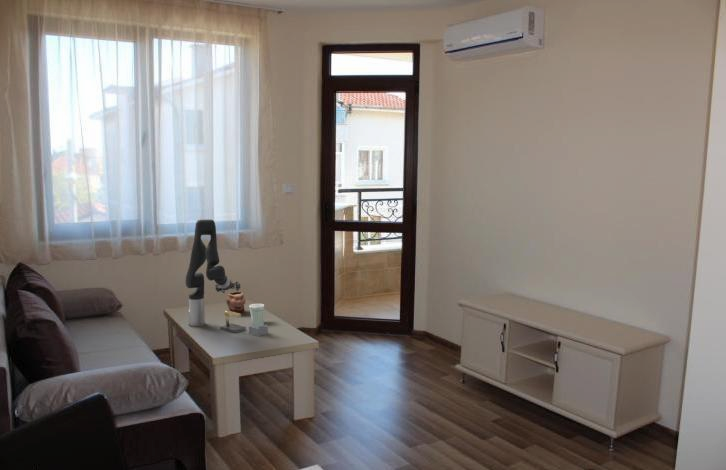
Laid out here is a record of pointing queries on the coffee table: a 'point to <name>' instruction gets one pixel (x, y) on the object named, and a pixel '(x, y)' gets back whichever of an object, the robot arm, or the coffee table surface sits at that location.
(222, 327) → the plate
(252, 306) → the cup
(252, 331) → the housing
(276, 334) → the coffee table surface
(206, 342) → the coffee table surface
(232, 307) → the decorative planter
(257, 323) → the cover
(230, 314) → the brown piece
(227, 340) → the coffee table surface
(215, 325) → the coffee table surface
